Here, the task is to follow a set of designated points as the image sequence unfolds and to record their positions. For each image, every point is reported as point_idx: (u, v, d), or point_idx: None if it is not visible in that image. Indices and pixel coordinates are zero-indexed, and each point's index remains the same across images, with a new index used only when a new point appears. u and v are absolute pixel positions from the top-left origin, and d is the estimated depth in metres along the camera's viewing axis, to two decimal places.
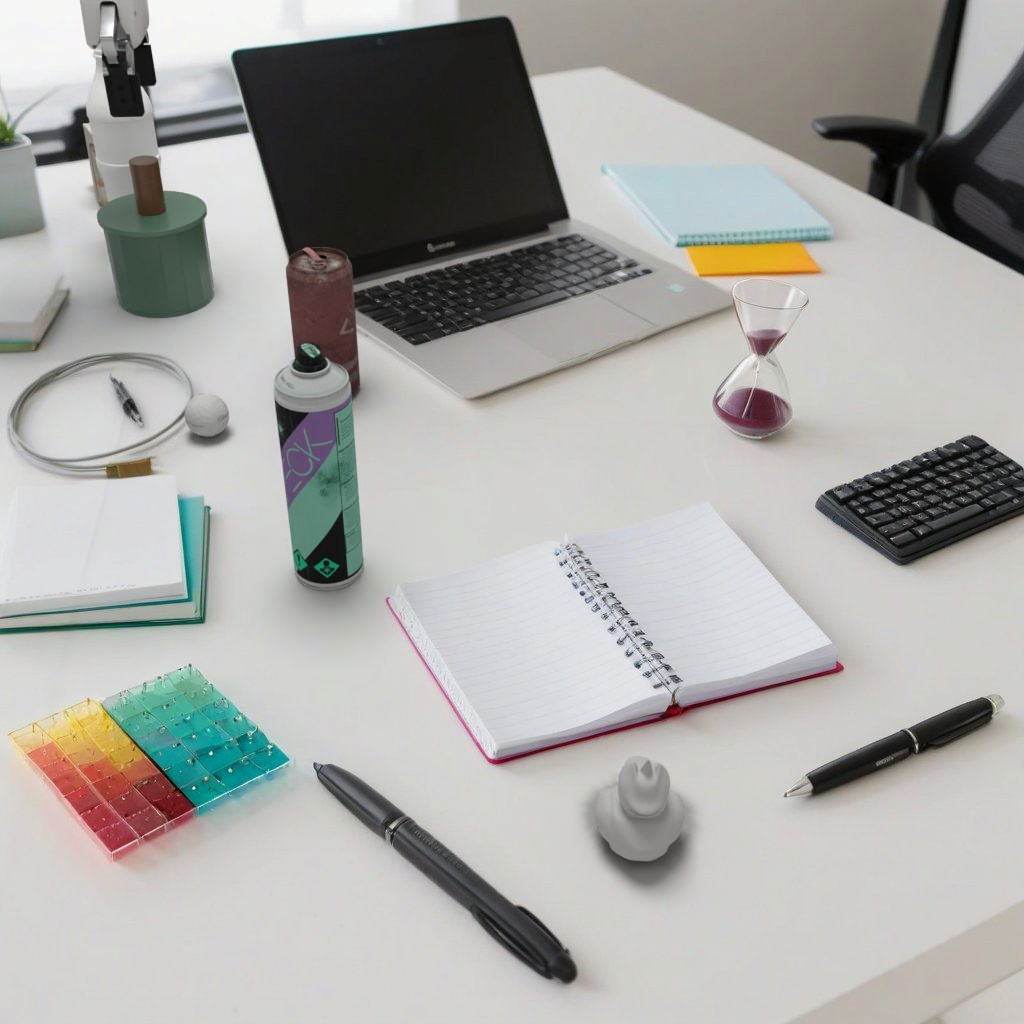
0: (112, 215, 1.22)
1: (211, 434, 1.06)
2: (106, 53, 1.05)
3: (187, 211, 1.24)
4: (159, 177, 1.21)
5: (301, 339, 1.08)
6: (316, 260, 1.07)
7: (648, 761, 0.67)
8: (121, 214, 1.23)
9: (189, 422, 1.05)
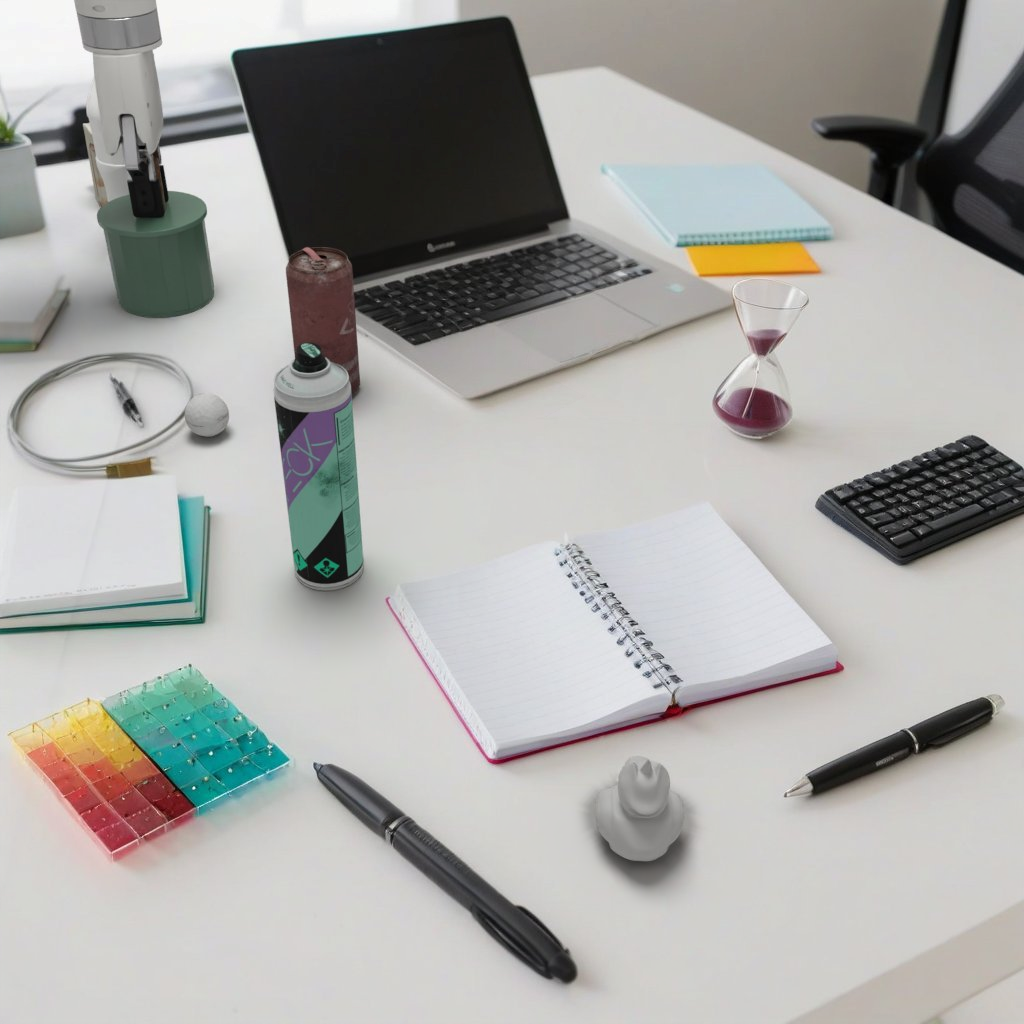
0: (112, 215, 1.22)
1: (211, 434, 1.06)
2: (131, 172, 1.16)
3: (187, 211, 1.24)
4: (159, 177, 1.21)
5: (301, 339, 1.08)
6: (316, 260, 1.07)
7: (648, 761, 0.67)
8: (121, 214, 1.23)
9: (189, 422, 1.05)
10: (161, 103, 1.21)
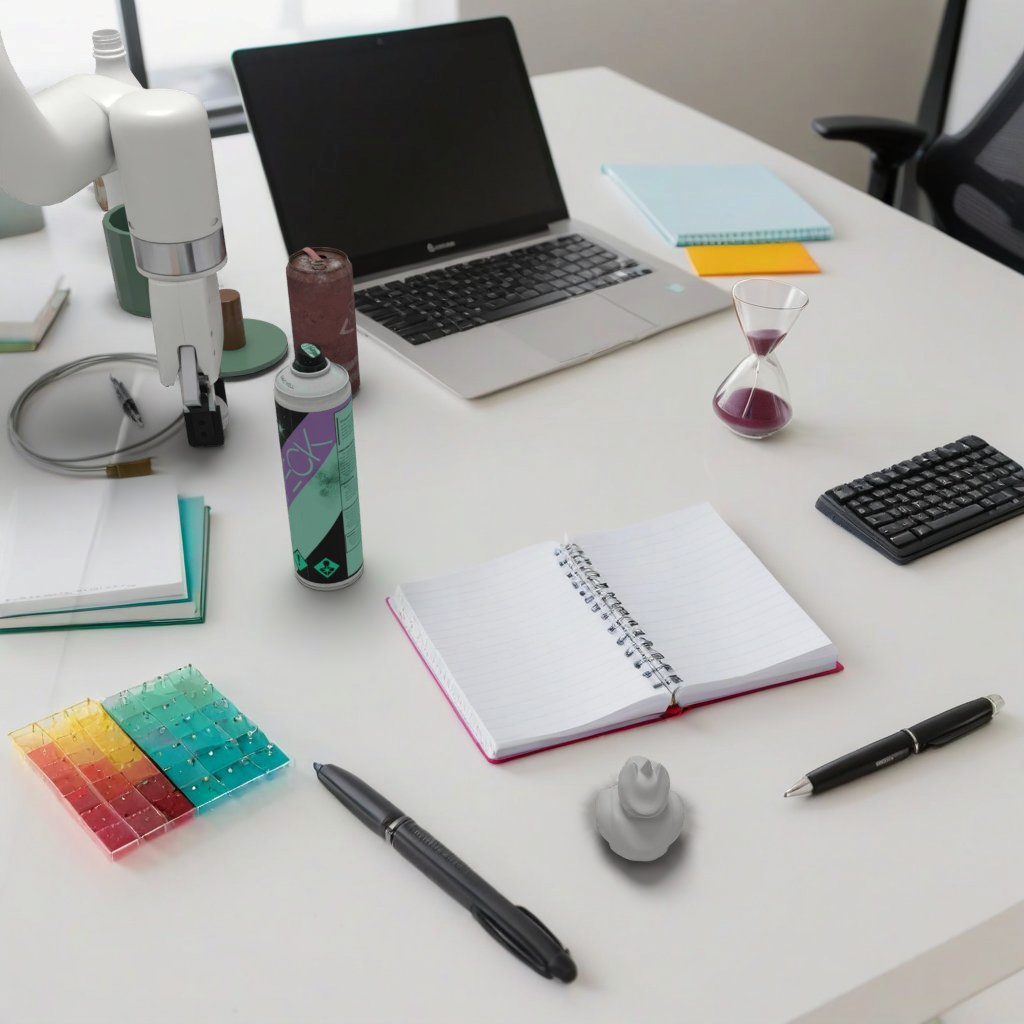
0: None
1: None
2: (190, 406, 0.99)
3: (268, 344, 1.19)
4: (240, 312, 1.17)
5: (301, 339, 1.08)
6: (316, 260, 1.07)
7: (648, 761, 0.67)
8: None
9: None
10: None
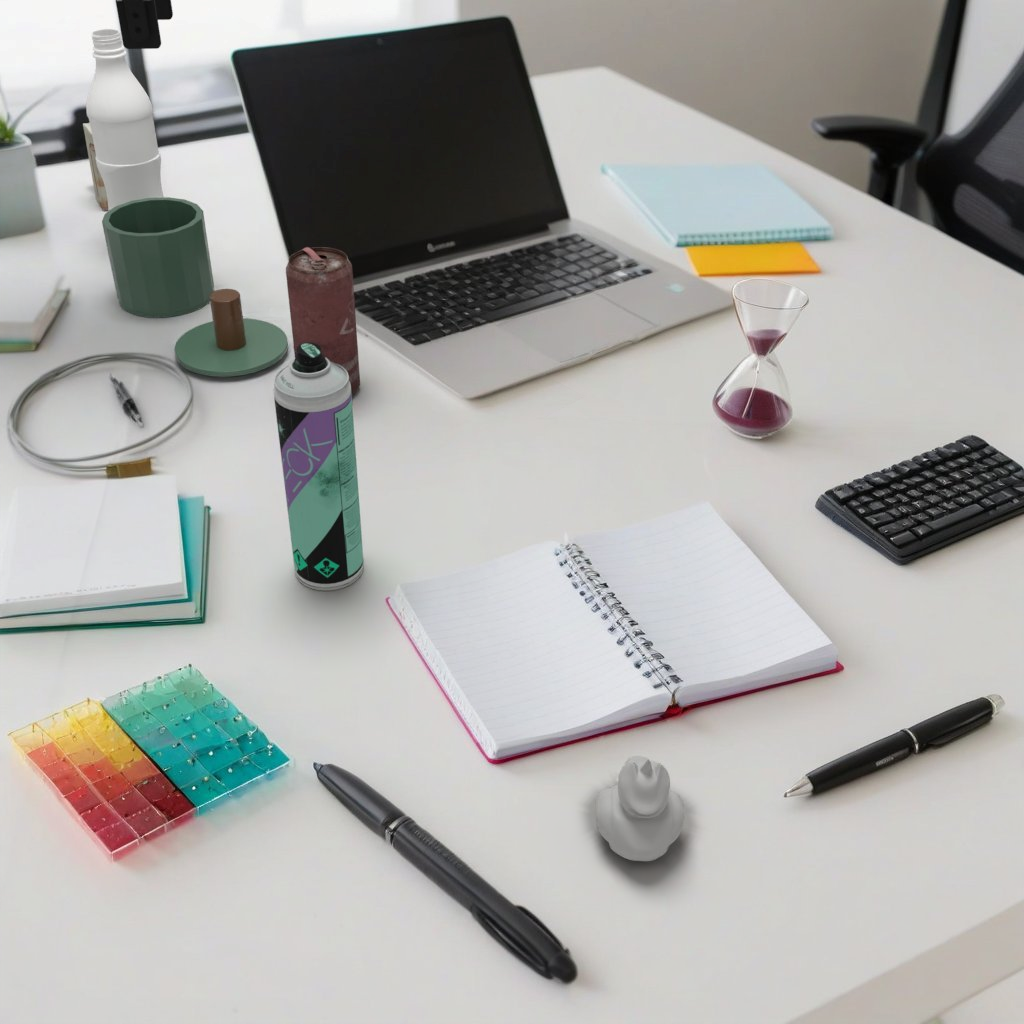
0: (191, 350, 1.18)
1: None
2: None
3: (268, 344, 1.19)
4: (240, 312, 1.17)
5: (301, 339, 1.08)
6: (316, 260, 1.07)
7: (648, 761, 0.67)
8: (200, 348, 1.18)
9: None
10: None
